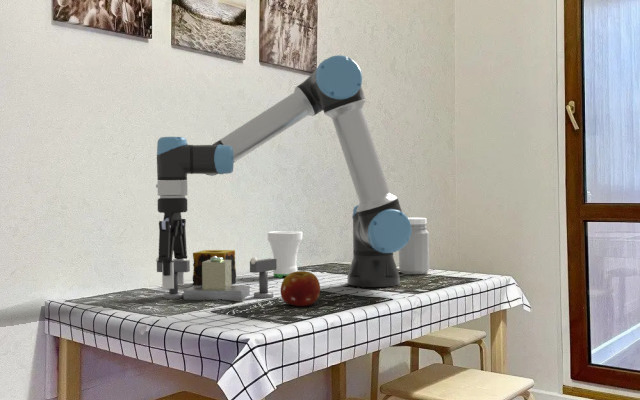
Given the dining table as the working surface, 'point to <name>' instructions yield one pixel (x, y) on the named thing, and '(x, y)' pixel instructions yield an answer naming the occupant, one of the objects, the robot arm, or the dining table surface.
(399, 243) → the robot arm
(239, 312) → the dining table surface
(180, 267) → the knob
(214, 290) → the level base
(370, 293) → the dining table surface
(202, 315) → the dining table surface
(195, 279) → the candle
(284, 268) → the cup
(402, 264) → the jar
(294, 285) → the fruit
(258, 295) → the knob
